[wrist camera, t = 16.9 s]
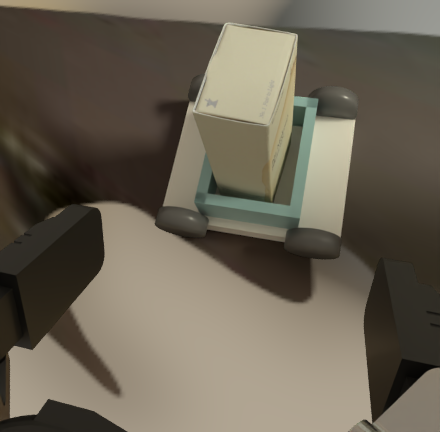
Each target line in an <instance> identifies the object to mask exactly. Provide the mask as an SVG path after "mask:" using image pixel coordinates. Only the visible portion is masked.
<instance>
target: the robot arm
mask: <svg viewBox="0 0 440 432" xmlns="http://www.w3.org/2000/svg"><path fill="white" fill-rule="evenodd" d="M103 261H104V242H103V231H102V219H101V213H100V211H99V210H98V208H94V207H88V206H82V205H76V204H72V205H70V206H68V207H67V208H66V209H65V210H63V211H62V212H61V213H60V214H58V215H57V216H56V217H52V218H50V219H47V220H45V221H42V222H40V223H38V224H36V225H34V226H33V227H32V228H30V229H29V230H28V231H26V232H25V233H24V235H21V236H20V237H19V238H17V239H16V240H15V241H14V243H11V244H9V245H8V246H7V247H5V248H4V249H3V250H2V251H0V432H127V431H125V430H124V429H122V428H120V427H119V426H117V425H115V424H114V423H112V422H110V421H109V420H107V419H106V418H104V417H102V416H100V415H99V414H97V413H96V412H94V411H91V410H87V409H84V408H80V407H76V406H72V405H69V404H65V403H61V402H57V401H54V400H50V399H48V400H47V402H46V403H45V405H44V406H43V407H42V409H41V410H40V411H39V413H38V414H37V415H27V416H19V417H14V418H10V359H9V355H8V352H9V351H10V349H11V348H12V347H13V346H18V347H23V348H27V349H31V350H33V349H34V348H35V346H36V345H37V344H38V343H39V342H40V341H41V339H42V338H43V337H44V336H45V335H46V333H47V332H48V331H49V330H50V329H51V328H52V326H53V325H54V324H55V323H56V322H57V321H58V319H59V318H60V317H61V316H62V315H63V314H64V312H65V311H66V310H67V309H68V308H69V307H70V305H71V304H72V303H73V302H74V301H75V300H76V298H77V297H78V296H79V295H80V294H81V293H82V291H83V290H84V289H85V288H86V287H87V285H88V284H89V283H90V282H91V281H92V280H93V279H94V277H95V276H96V275H97V274H98V273H99V271H100V270H101V267H102V265H103ZM364 334H365V345H366V357H367V367H368V379H369V390H370V401H371V412H372V424H370V423H369V422H368V421H367V420H362V421H360V422H359V423H357V424H356V425H355V426H354V427H353V428H352V429H351V430H350V431H348V432H440V295H439V294H438V293H437V292H436V291H435V289H434V288H433V287H432V286H430V285H424V284H419V283H418V281H417V278H416V274H415V271H414V267H413V265H412V263H410V262H404V261H398V260H392V259H386V258H381V259H380V260H379V263H378V265H377V269H376V272H375V276H374V279H373V283H372V286H371V290H370V293H369V297H368V301H367V304H366V309H365V315H364Z"/></svg>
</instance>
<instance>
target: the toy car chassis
mask: <svg viewBox="0 0 440 432" xmlns="http://www.w3.org/2000/svg"><path fill="white" fill-rule="evenodd" d="M204 76H205V74H200V75H197V76H195V77H194V78H193V79H192V82H191V86H190V89H189V93H188V98H189V100H190V102H189V106H188V110H187V114H186V118H185V122H184V125H183V129H182V133H181V137H180V141H179V145H178V149H177V153H176V157H175V161H174V165H173V169H172V173H171V176H170V180H169V184H168V188H167V192H166V196H165V200H164V204H163V207H160V208H159V210H158V214H157V218H156V222H155V225H156V226H157V227H158V228H160V229H161V230H164V231H166V232H169V233H172V234H176V235H180V236H185V237H191V238H202V237H205V236H206V231H207V230H213V231H219V232H225V233H231V234H238V235H244V236H250V237H256V238H262V239H268V240H274V241H280V242H285V243H284V249H285V250H286V251H288V252H290V253H292V254H295V255H299V256H303V257H308V258H314V259H335V258H338V257H339V255H340V247H341V231H342V223H343V215H344V206H345V198H346V190H347V182H348V174H349V166H350V158H351V150H352V142H353V134H354V126H355V118H356V116H357V109H358V97H357V96H356V94H355V93H354V92H352V91H350V90H349V89H346V88H343V87H338V86H326V87H321V88H318V89H316V90H314V91H313V92H312V93H311V94H310V95H309V97H308V98H306V97H297V96H294V106H293V122H292V136H291V145H290V148H289V152H288V155H287V159H286V162H285V166H284V169H283V173H282V176H281V179H280V182H279V186H278V189H277V192H276V195H275V198H274V201H273V203H267V202H261V201H254V200H248V199H241V198H234V197H228V196H221V195H220V192H219V189H218V187H217V183H216V180H215V177H214V175H213V172H212V169H211V166H210V163H209V159H208V157H207V154H206V151H205V148H204V145H203V142H202V139H201V136H200V133H199V130H198V127H197V124H196V121H195V119H194V115H193V113H192V110H193V107H194V105H195V102H196V99H197V96H198V93H199V90H200V87H201V85H202V82H203V79H204Z"/></svg>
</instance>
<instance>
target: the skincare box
mask: <svg viewBox="0 0 440 432" xmlns="http://www.w3.org/2000/svg"><path fill="white" fill-rule="evenodd" d="M297 38H298V36H297V34H294V33H288V32H282V31H277V30H271V29H266V28H260V27H254V26H248V25H241V24H236V23H226V24H225V25H224V27H223V30H222V32H221V35H220V37H219V39H218V42H217V45H216V47H215V50H214V52H213V55H212V57H211V60H210V62H209V65H208V68H207V71H206V73H205V76H204V79H203V82H202V85H201V87H200V90H199V93H198V96H197V99H196V102H195V105H194V107H193V110H192V113H193V115H194V119H195V121H196V124H197V127H198V130H199V133H200V136H201V139H202V142H203V145H204V148H205V151H206V154H207V157H208V159H209V163H210V166H211V169H212V172H213V175H214V177H215V180H216V183H217V187H218V189H219V192H220V195H221V196H228V197H234V198H241V199H248V200H254V201H261V202H267V203H273V201H274V198H275V195H276V192H277V189H278V186H279V182H280V179H281V176H282V173H283V169H284V166H285V162H286V159H287V155H288V152H289V148H290V145H291V136H292V122H293V106H294V88H295V71H296V54H297Z"/></svg>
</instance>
